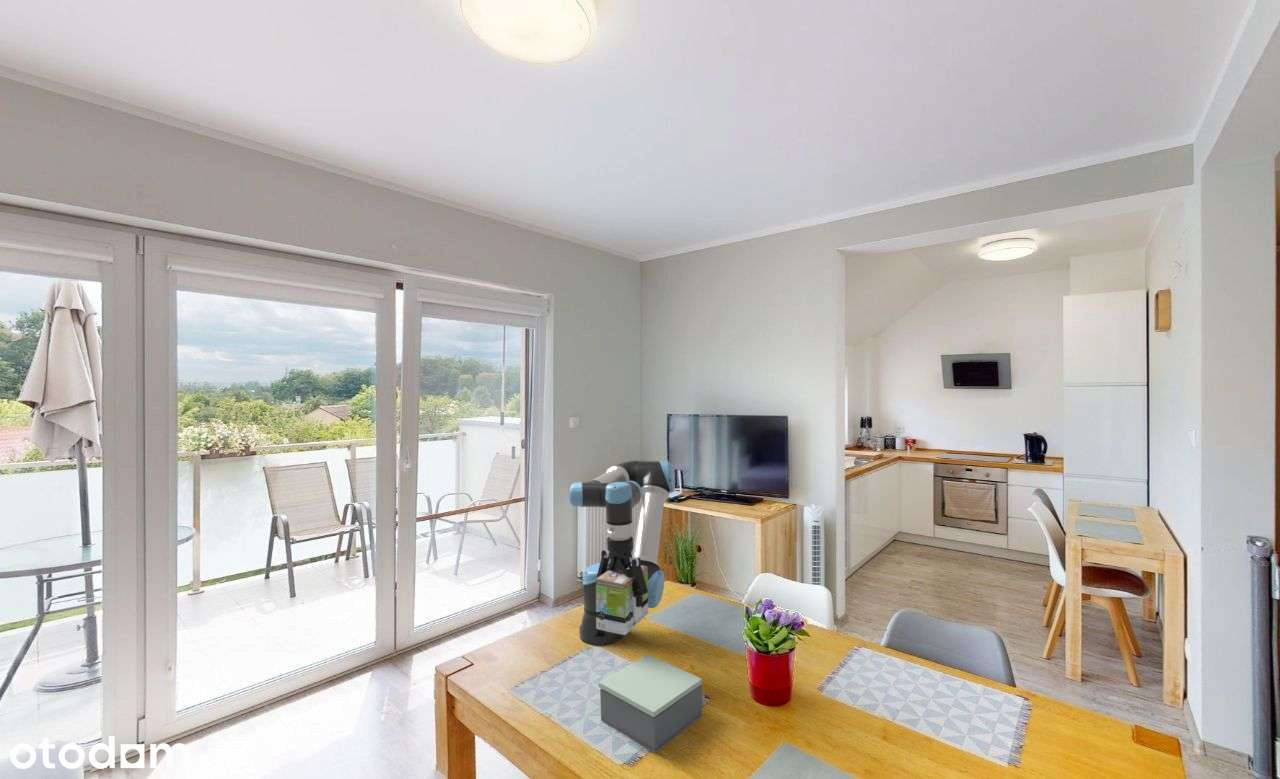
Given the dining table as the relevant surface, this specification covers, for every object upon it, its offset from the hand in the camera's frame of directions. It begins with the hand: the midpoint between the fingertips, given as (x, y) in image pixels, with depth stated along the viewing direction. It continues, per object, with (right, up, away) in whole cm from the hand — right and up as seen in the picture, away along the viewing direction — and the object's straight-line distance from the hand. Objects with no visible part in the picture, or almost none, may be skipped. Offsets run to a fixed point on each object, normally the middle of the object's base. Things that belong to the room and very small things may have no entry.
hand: (622, 611), depth 153 cm
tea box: (0, -3, 0) cm, 3 cm away
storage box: (+8, -18, -21) cm, 29 cm away
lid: (+8, -10, -21) cm, 25 cm away
